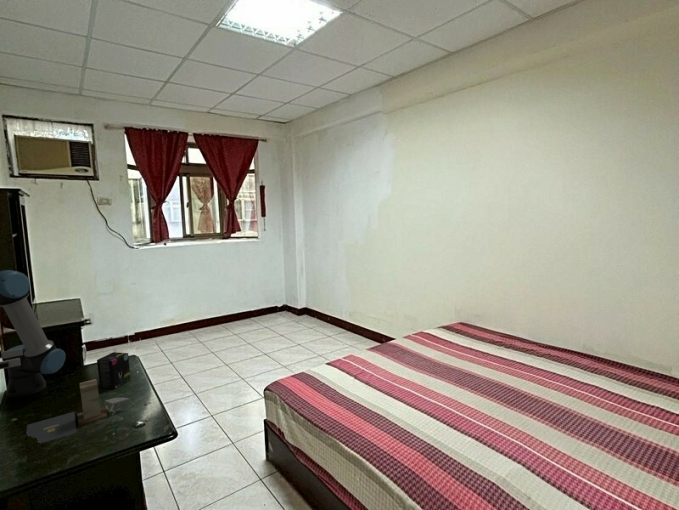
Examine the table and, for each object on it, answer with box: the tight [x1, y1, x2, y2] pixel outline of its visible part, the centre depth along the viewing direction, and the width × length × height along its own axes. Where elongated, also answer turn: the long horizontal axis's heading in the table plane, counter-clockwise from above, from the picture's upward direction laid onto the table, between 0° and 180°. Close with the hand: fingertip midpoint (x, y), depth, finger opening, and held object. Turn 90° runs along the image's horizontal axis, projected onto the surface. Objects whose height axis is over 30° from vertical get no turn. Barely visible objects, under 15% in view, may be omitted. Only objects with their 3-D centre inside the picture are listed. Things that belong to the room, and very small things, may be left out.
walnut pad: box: [77, 405, 108, 427], centre depth 161 cm, size 10×10×1 cm
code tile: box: [25, 411, 77, 445], centre depth 153 cm, size 20×16×1 cm
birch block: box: [79, 378, 101, 420], centre depth 160 cm, size 6×6×14 cm
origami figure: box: [104, 397, 135, 416], centre depth 166 cm, size 12×8×5 cm
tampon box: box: [96, 351, 131, 390], centre depth 191 cm, size 11×9×15 cm
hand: (21, 356), depth 152 cm, fingers open, 13 cm apart
